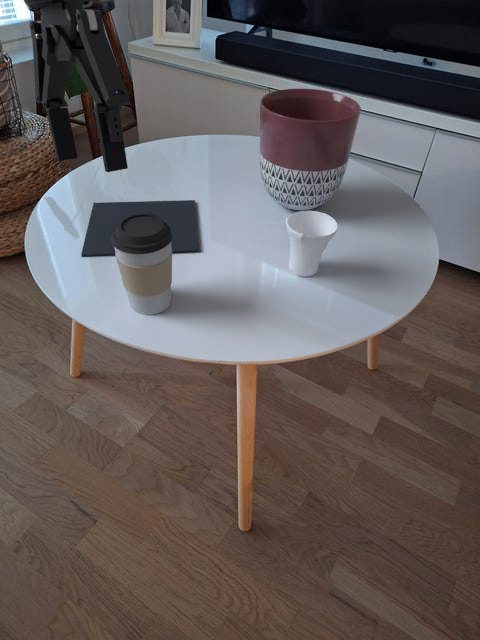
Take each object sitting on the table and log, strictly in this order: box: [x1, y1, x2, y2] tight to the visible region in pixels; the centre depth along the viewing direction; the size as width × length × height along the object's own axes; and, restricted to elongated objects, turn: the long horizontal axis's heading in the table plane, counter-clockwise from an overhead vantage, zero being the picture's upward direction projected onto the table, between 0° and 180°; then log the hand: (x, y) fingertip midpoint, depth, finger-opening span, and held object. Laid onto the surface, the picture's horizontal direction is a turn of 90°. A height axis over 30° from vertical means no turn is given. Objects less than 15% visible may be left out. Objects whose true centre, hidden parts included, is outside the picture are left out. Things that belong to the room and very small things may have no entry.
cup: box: [285, 210, 339, 278], centre depth 82 cm, size 9×9×10 cm
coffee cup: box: [111, 212, 173, 316], centre depth 72 cm, size 9×9×15 cm
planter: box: [259, 88, 362, 211], centre depth 97 cm, size 20×20×21 cm
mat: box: [80, 199, 201, 258], centre depth 95 cm, size 22×20×1 cm
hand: (90, 164), depth 61 cm, fingers open, 13 cm apart
